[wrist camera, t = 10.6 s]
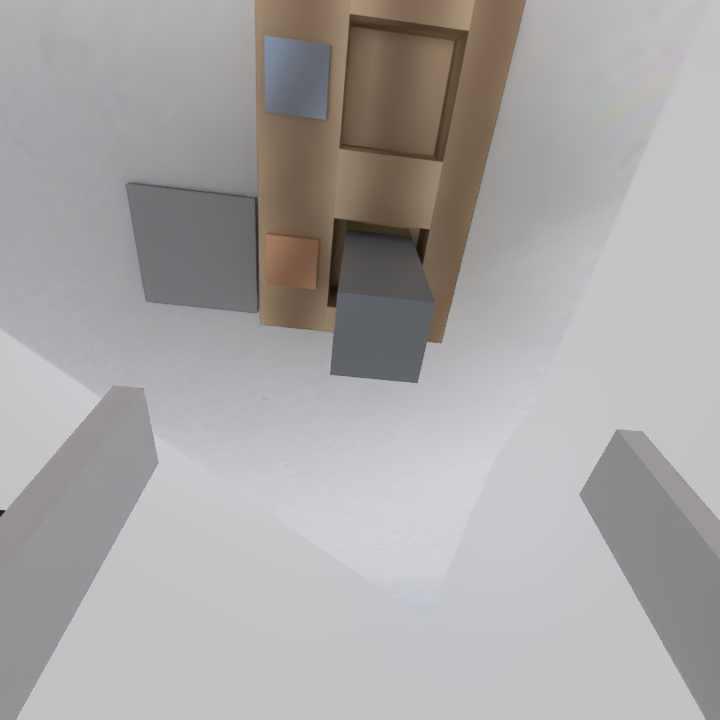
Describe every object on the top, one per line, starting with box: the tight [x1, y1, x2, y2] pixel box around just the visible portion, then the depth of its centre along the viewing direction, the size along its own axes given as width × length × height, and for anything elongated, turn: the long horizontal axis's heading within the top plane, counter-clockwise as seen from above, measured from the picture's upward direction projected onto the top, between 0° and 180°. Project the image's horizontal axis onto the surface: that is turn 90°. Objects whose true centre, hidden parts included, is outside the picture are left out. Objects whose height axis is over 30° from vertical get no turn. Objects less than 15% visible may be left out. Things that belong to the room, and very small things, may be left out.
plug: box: [330, 221, 435, 383], centre depth 23 cm, size 4×4×12 cm
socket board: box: [255, 0, 526, 343], centre depth 24 cm, size 12×18×4 cm, turn 174°
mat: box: [126, 183, 258, 313], centre depth 28 cm, size 8×8×1 cm
